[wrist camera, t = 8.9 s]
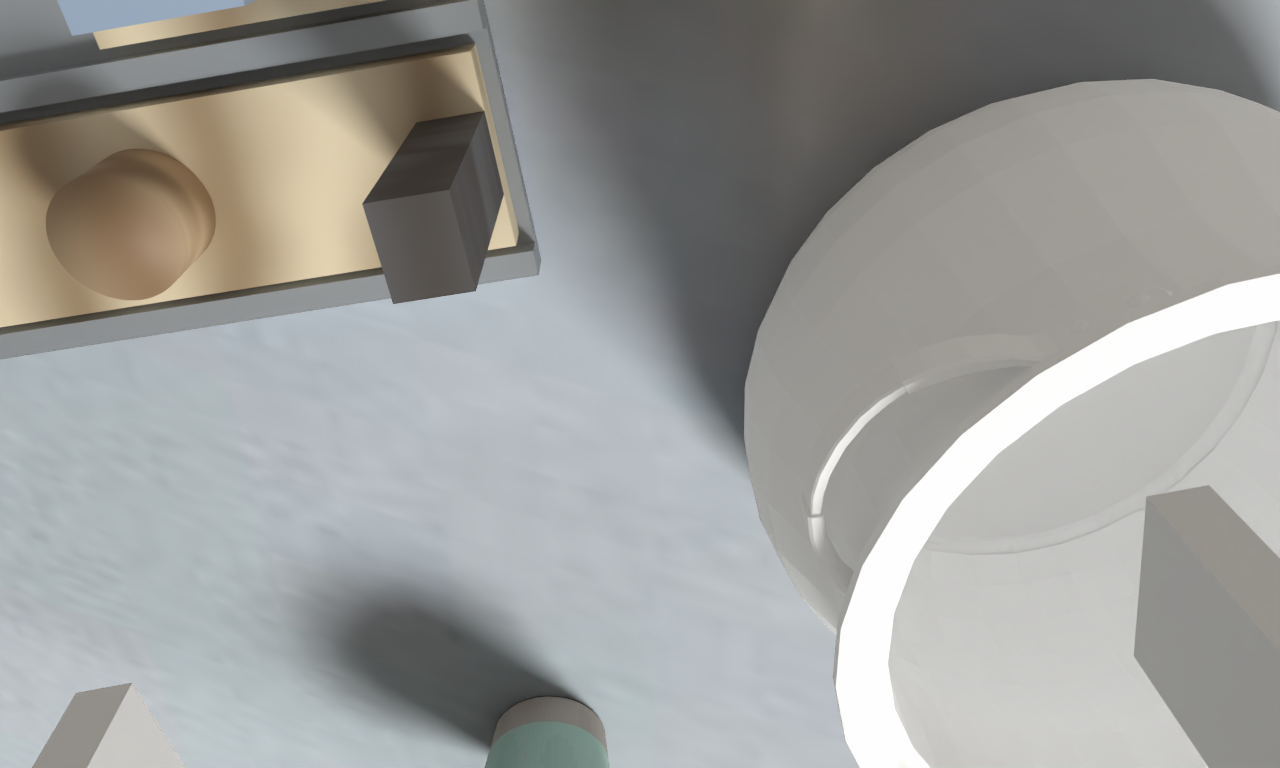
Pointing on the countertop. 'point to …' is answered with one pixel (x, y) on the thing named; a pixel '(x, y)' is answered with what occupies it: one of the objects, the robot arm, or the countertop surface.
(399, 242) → the strip
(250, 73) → the lane board
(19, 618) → the countertop surface
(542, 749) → the coffee cup
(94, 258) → the brown rounded piece
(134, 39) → the strip
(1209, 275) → the pot
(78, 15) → the blue block
